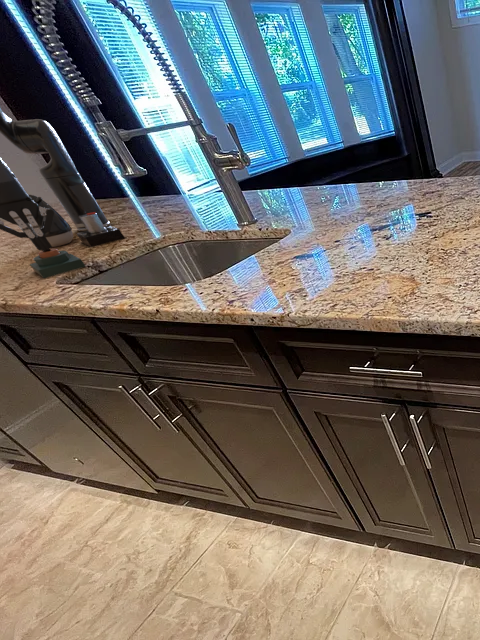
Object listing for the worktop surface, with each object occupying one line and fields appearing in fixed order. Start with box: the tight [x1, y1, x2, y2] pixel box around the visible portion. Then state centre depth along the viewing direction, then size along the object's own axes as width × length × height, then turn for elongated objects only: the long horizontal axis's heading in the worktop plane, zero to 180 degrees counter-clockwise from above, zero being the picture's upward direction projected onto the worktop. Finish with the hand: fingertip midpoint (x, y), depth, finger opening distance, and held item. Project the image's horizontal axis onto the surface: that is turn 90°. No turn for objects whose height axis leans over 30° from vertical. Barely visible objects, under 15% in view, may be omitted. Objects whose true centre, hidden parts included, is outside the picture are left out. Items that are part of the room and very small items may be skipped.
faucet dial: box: [79, 212, 106, 233], centre depth 134 cm, size 4×4×5 cm
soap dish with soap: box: [29, 250, 86, 279], centre depth 114 cm, size 10×9×4 cm
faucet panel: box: [76, 225, 125, 248], centre depth 136 cm, size 10×9×3 cm
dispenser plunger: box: [37, 248, 60, 258], centre depth 113 cm, size 4×4×2 cm
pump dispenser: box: [25, 193, 74, 248], centre depth 133 cm, size 10×10×15 cm
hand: (46, 250), depth 113 cm, fingers closed
